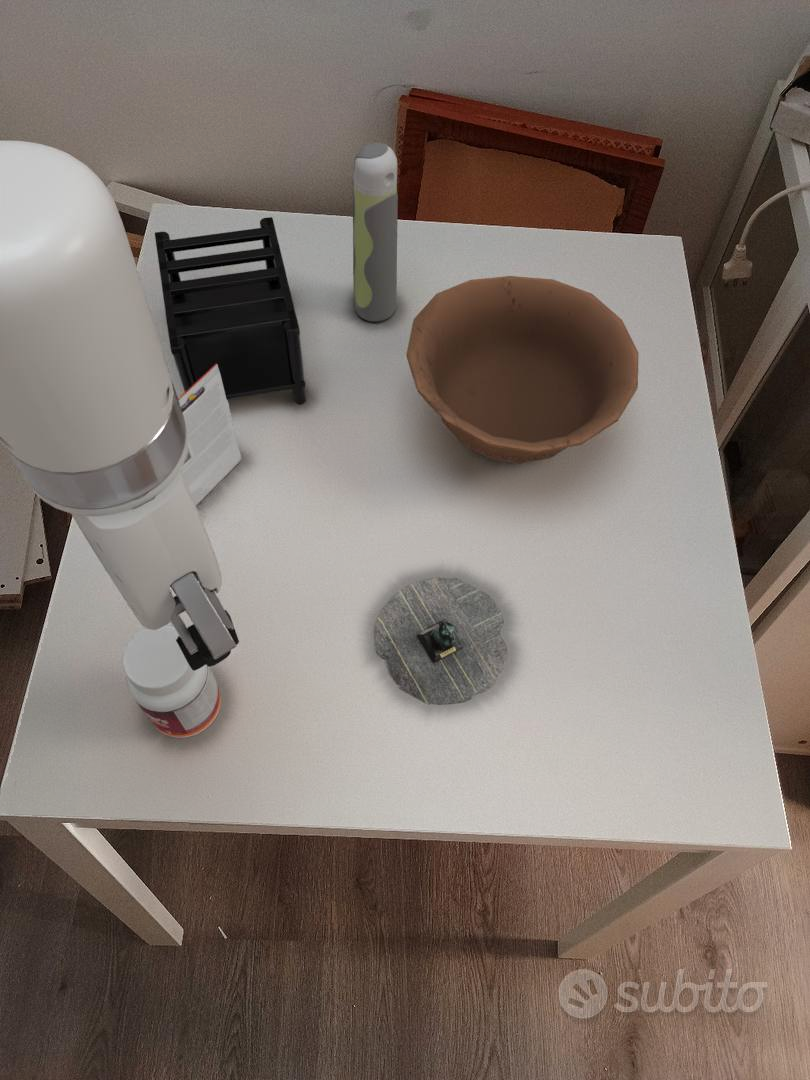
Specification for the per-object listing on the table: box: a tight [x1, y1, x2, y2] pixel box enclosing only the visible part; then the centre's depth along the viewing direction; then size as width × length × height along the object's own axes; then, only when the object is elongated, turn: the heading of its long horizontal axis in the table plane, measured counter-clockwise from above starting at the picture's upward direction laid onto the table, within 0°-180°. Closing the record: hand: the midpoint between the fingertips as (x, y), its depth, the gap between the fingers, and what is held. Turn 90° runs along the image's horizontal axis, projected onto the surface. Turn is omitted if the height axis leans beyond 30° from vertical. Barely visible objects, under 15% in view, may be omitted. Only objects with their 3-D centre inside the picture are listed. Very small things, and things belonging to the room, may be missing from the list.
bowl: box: [406, 275, 639, 464], centre depth 82 cm, size 22×22×11 cm
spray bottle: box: [352, 142, 399, 323], centre depth 86 cm, size 5×5×20 cm
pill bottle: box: [121, 624, 222, 739], centre depth 66 cm, size 6×6×11 cm
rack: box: [154, 216, 307, 406], centre depth 85 cm, size 12×16×11 cm
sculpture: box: [374, 577, 509, 705], centre depth 74 cm, size 12×9×8 cm
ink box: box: [178, 364, 242, 507], centre depth 76 cm, size 4×8×15 cm, turn 145°
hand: (175, 594), depth 52 cm, fingers open, 9 cm apart
